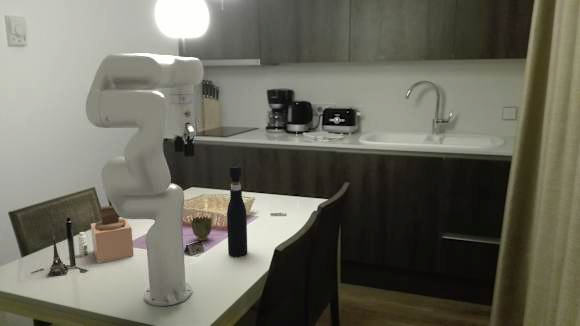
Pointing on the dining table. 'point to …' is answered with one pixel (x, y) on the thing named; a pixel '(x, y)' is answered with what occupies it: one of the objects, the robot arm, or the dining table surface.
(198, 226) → the cup
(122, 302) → the dining table surface
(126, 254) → the open-top pink box
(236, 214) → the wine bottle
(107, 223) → the lid
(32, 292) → the dining table surface
